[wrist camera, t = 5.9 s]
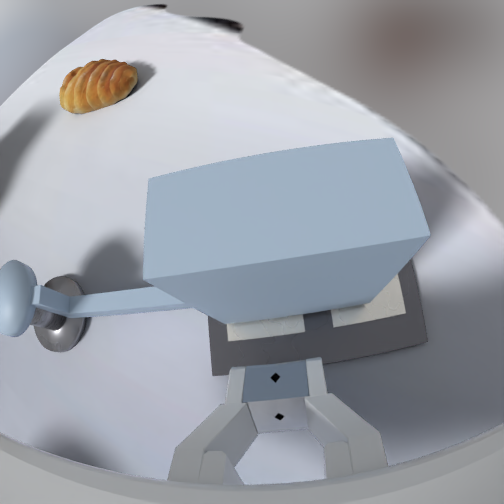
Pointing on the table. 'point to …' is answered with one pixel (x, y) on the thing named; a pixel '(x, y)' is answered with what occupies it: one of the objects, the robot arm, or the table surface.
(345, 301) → the swing arm
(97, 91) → the pastry
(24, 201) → the table surface
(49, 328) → the pivot post
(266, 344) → the label panel
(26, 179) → the table surface
